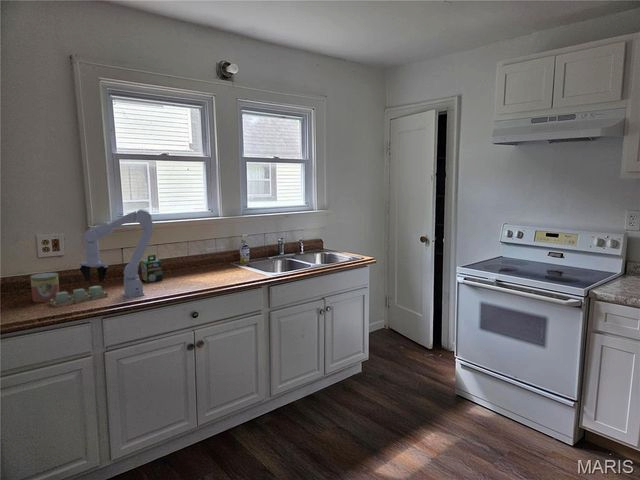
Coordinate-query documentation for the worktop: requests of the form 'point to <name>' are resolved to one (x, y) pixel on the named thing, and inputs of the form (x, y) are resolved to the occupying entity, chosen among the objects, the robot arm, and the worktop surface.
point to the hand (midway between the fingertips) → (94, 281)
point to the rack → (78, 299)
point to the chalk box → (151, 269)
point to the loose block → (95, 290)
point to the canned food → (44, 286)
